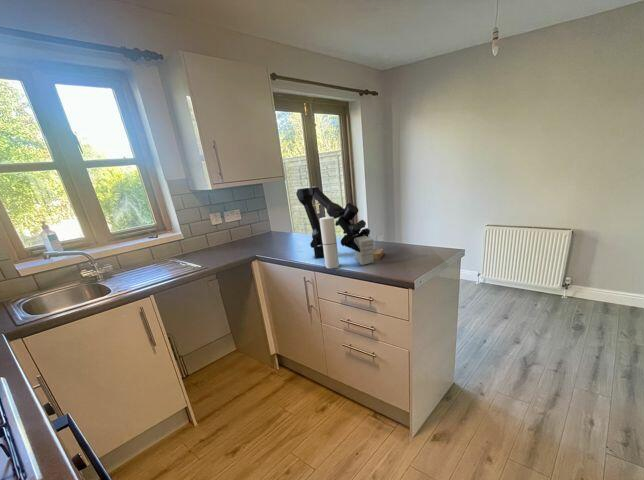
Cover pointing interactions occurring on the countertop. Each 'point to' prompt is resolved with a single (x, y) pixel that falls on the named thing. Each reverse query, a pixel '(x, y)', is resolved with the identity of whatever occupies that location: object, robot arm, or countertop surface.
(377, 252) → the tan flat block
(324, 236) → the cylindrical container
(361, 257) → the white packaging box
